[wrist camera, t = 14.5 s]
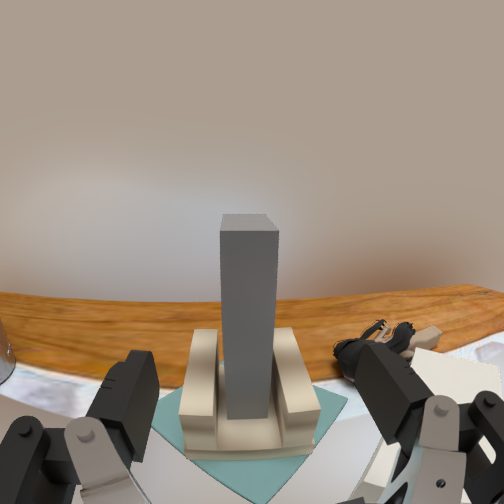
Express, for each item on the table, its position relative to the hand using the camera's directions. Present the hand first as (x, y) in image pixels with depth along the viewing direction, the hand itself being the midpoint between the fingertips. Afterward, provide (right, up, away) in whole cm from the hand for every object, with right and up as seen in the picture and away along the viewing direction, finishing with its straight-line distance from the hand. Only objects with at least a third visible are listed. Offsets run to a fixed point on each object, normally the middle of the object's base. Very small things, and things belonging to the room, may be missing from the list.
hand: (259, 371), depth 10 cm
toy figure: (+15, -8, +17) cm, 25 cm away
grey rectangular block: (-1, -7, +11) cm, 13 cm away
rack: (-1, -9, +11) cm, 14 cm away
